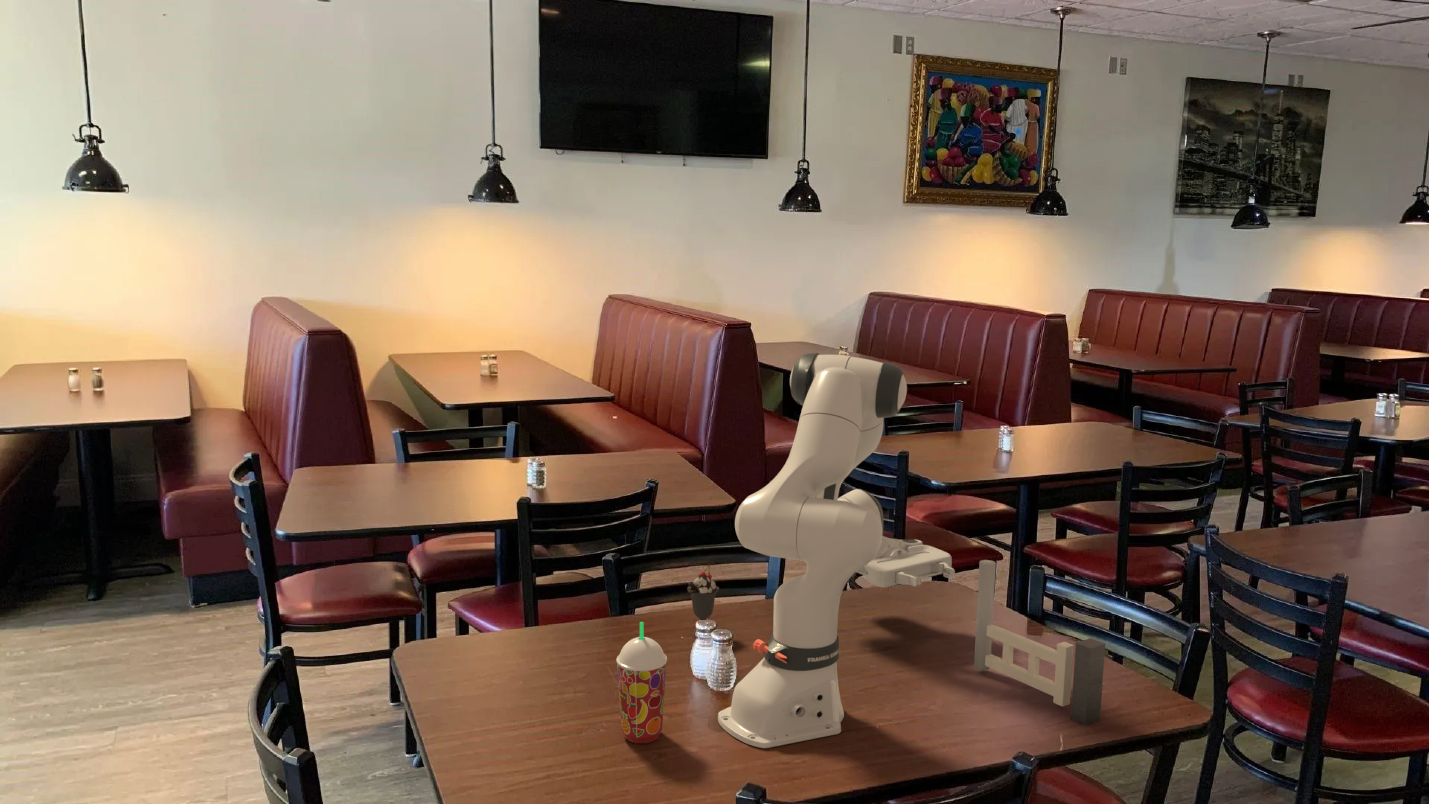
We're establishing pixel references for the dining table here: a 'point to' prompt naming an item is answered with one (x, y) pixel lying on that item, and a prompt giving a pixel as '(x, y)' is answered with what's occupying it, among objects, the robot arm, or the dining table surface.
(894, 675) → the dining table surface
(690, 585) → the sundae
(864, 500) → the robot arm
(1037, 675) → the gate
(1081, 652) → the hinge post
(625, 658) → the smoothie
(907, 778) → the dining table surface
